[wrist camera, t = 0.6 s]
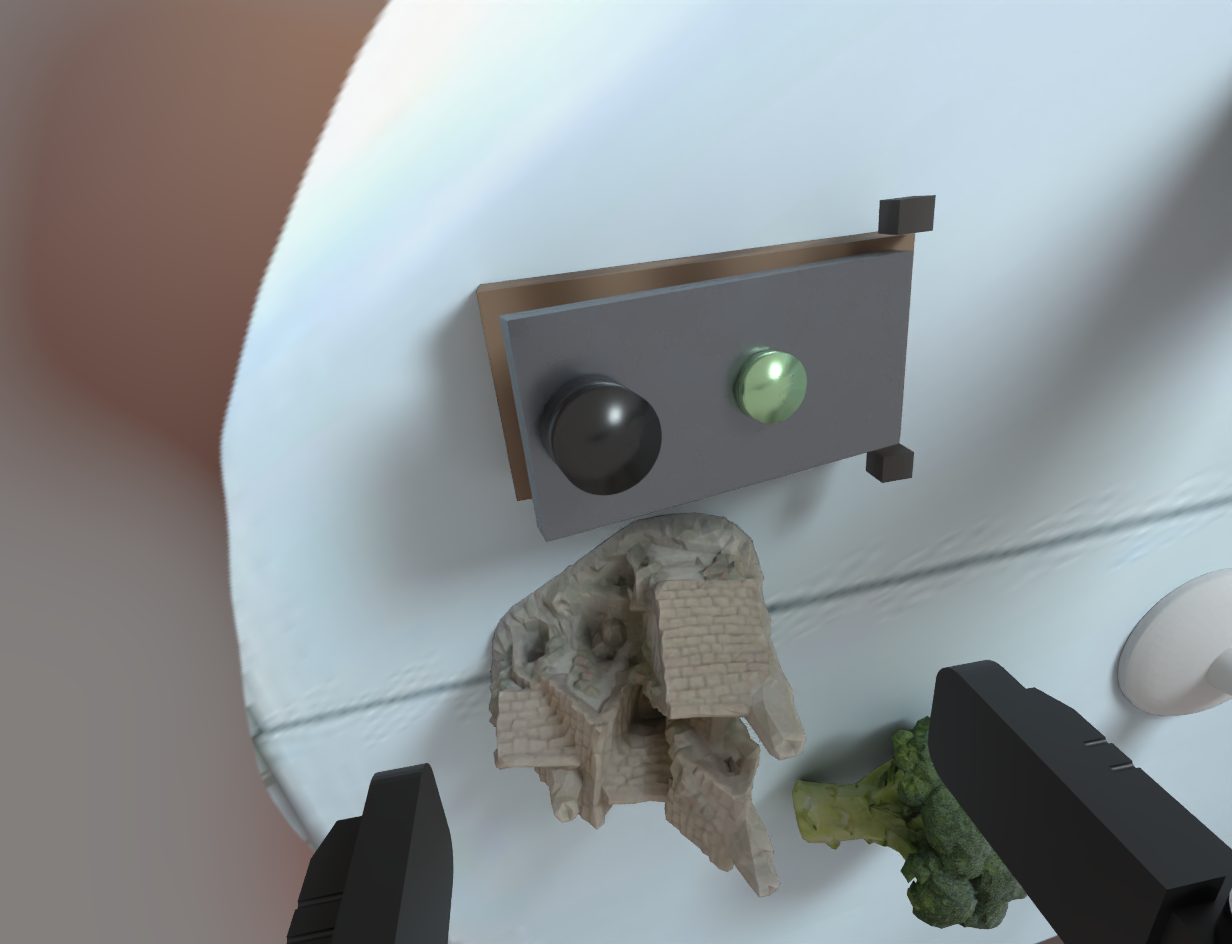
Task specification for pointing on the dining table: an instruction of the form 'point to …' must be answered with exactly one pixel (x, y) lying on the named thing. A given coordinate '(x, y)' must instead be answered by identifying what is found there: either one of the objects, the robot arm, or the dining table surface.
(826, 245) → the brown boxy piece
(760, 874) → the miniature castle
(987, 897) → the vegetable
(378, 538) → the dining table surface
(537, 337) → the plate
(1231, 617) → the candlestick
